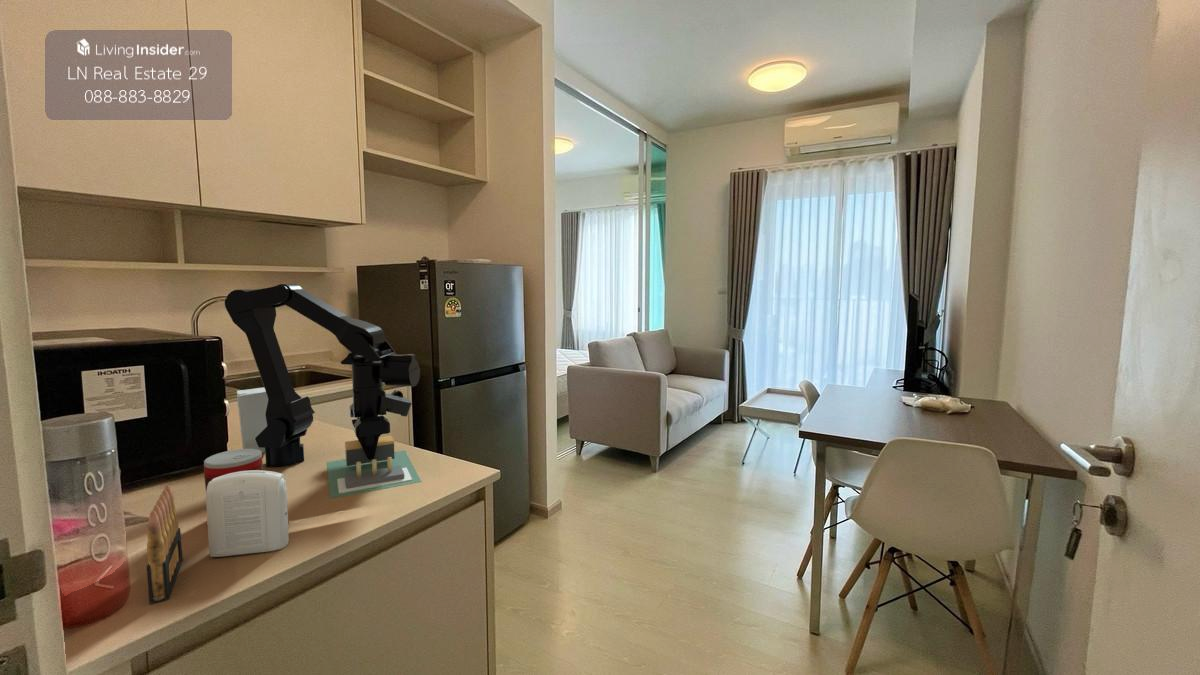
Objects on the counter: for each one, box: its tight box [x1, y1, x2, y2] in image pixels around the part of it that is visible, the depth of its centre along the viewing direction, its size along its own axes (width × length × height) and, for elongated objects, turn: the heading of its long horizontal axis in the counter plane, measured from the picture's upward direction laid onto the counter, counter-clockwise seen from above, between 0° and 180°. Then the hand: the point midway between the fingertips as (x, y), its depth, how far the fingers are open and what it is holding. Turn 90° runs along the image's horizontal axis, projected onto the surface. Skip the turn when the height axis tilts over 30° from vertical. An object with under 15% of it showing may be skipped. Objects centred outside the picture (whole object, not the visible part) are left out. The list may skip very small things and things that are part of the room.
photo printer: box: [205, 470, 290, 558], centre depth 74 cm, size 10×4×12 cm, turn 107°
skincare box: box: [236, 386, 268, 454], centre depth 115 cm, size 8×6×15 cm
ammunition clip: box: [146, 484, 184, 605], centre depth 66 cm, size 11×2×12 cm, turn 33°
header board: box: [326, 449, 422, 499], centre depth 101 cm, size 16×20×6 cm
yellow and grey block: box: [344, 435, 395, 466], centre depth 104 cm, size 9×4×4 cm, turn 121°
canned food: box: [203, 448, 264, 491], centre depth 83 cm, size 8×8×11 cm
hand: (370, 455), depth 104 cm, fingers closed on yellow and grey block, 4 cm apart
